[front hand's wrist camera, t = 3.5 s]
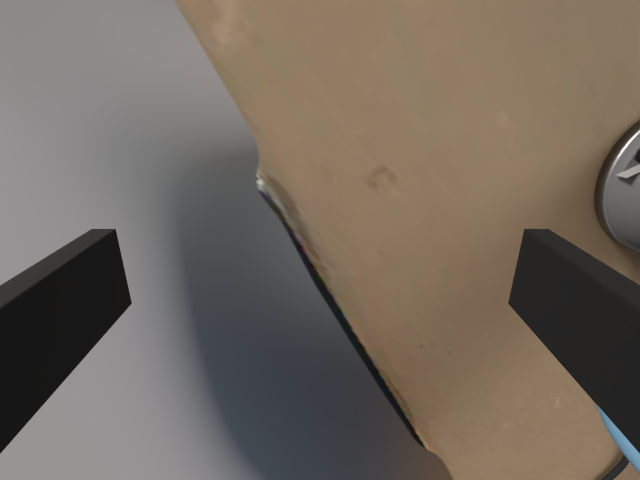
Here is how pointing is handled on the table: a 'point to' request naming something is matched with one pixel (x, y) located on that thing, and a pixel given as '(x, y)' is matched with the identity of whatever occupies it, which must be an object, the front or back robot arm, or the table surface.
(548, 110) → the table surface
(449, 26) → the table surface
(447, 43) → the table surface
